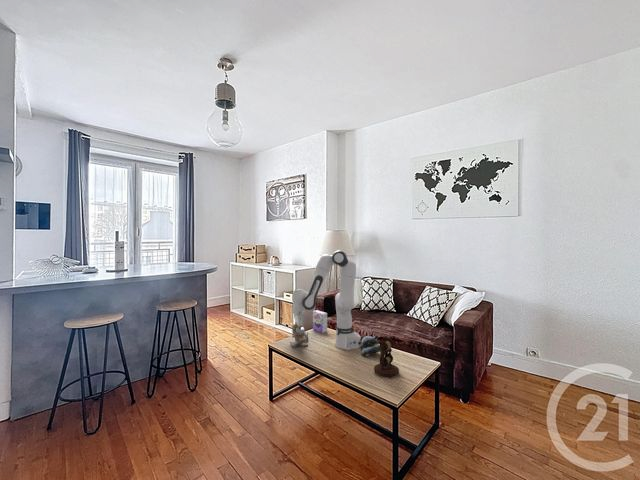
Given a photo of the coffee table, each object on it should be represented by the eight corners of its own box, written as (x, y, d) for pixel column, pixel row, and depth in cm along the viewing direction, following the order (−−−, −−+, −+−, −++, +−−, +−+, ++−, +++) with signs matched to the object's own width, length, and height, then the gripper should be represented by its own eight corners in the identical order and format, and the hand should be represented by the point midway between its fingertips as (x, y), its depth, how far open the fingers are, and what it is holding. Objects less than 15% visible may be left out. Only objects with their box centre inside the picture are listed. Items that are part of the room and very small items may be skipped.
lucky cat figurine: (360, 358, 201) (355, 337, 207) (362, 358, 212) (357, 338, 218) (382, 352, 199) (376, 331, 205) (383, 353, 210) (377, 333, 216)
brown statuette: (381, 365, 190) (381, 334, 190) (403, 371, 181) (403, 339, 180) (369, 373, 179) (369, 340, 178) (392, 381, 169) (392, 346, 169)
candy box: (312, 329, 262) (312, 310, 262) (317, 328, 266) (317, 309, 266) (322, 333, 251) (322, 314, 251) (327, 332, 255) (327, 312, 255)
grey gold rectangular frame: (305, 340, 234) (304, 323, 234) (311, 353, 210) (311, 333, 210) (289, 342, 232) (289, 324, 231) (294, 354, 207) (294, 334, 207)
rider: (302, 332, 223) (302, 325, 223) (304, 334, 218) (303, 327, 218) (296, 333, 222) (296, 326, 222) (297, 335, 217) (297, 328, 217)
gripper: (304, 313, 217) (305, 332, 217) (300, 307, 237) (300, 324, 237) (296, 314, 216) (296, 333, 216) (292, 307, 236) (292, 324, 236)
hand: (298, 328), depth 227 cm, fingers closed
